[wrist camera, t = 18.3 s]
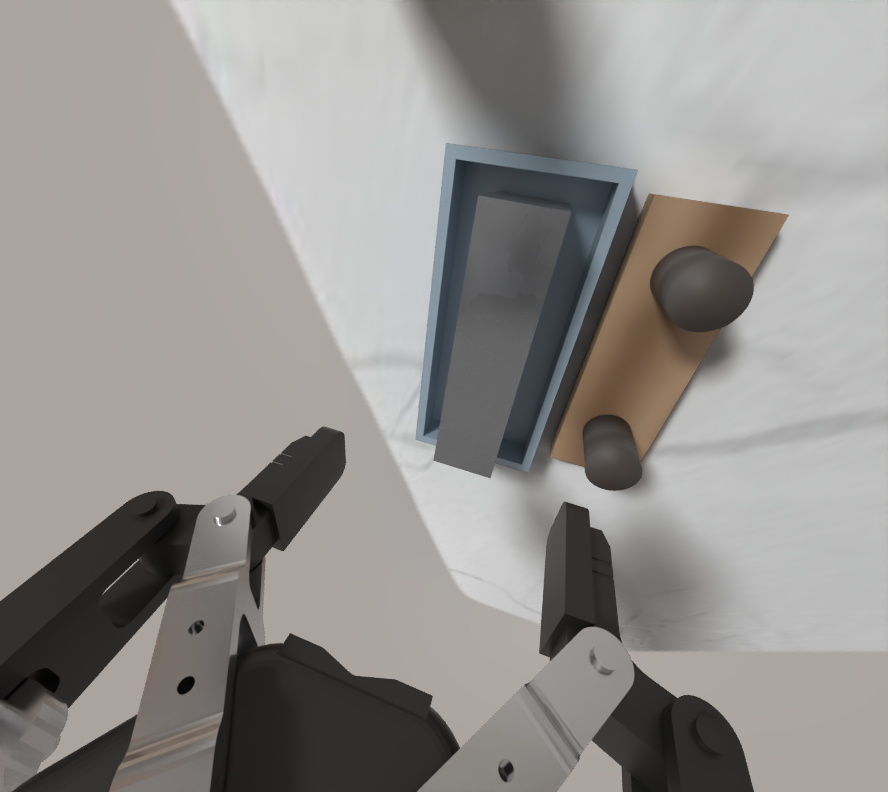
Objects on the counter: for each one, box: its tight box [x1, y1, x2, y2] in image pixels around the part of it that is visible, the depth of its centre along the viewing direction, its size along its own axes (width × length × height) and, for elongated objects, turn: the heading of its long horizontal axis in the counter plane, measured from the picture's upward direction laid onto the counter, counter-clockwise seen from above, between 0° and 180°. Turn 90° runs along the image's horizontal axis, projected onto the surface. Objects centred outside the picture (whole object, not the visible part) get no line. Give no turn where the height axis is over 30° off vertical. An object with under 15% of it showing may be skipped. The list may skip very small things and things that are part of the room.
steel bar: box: [434, 191, 571, 478], centre depth 22 cm, size 4×16×6 cm, turn 172°
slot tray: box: [416, 143, 638, 472], centre depth 24 cm, size 9×20×3 cm, turn 173°
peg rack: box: [550, 194, 789, 491], centre depth 21 cm, size 6×18×6 cm, turn 173°
